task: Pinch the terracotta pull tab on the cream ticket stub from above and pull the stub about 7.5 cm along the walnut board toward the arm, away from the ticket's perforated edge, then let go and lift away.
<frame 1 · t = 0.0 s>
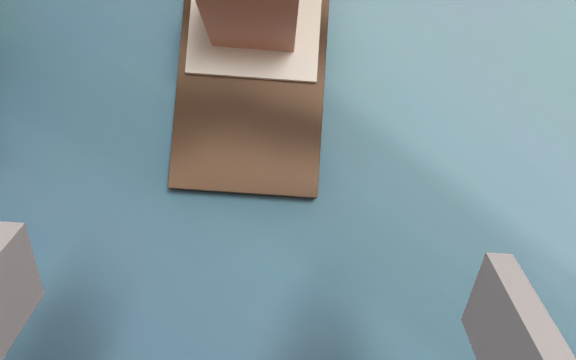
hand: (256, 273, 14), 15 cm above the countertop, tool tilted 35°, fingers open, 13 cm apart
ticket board: (256, 31, 30), on the countertop
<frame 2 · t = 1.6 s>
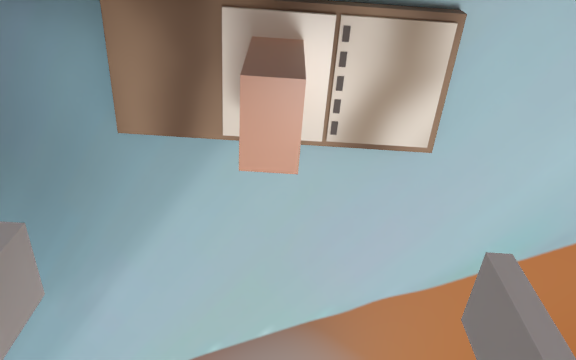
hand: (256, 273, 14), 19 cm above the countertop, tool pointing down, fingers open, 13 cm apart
stub: (273, 99, 26), point 5 cm above the countertop, slide at 0.0 cm
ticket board: (280, 71, 30), on the countertop
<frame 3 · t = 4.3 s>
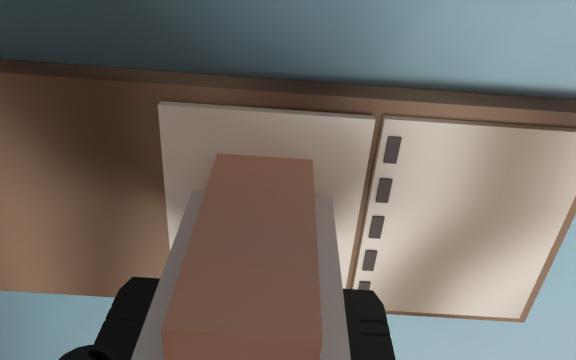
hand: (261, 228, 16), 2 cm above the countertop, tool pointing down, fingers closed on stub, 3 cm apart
stub: (254, 291, 13), point 5 cm above the countertop, slide at 0.0 cm, touching gripper
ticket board: (271, 195, 17), on the countertop
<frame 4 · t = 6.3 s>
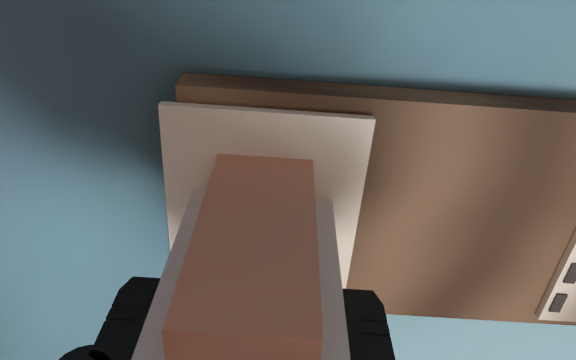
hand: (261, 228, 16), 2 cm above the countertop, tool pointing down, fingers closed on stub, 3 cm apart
stub: (254, 291, 13), point 5 cm above the countertop, slide at 7.4 cm, touching gripper
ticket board: (470, 208, 17), on the countertop
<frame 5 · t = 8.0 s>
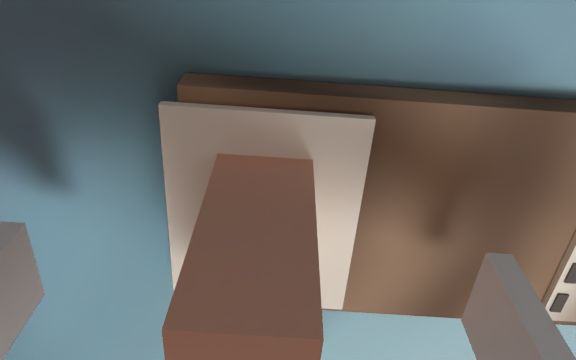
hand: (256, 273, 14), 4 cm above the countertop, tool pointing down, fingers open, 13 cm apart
stub: (254, 291, 13), point 5 cm above the countertop, slide at 7.5 cm
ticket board: (471, 208, 17), on the countertop
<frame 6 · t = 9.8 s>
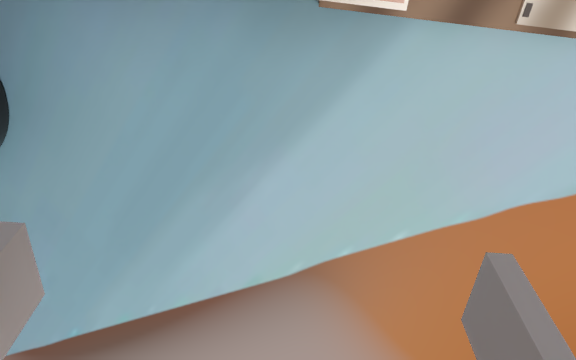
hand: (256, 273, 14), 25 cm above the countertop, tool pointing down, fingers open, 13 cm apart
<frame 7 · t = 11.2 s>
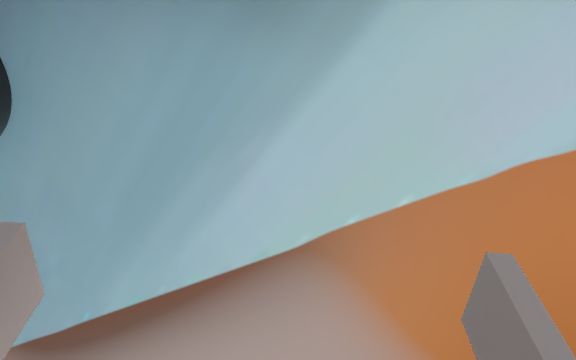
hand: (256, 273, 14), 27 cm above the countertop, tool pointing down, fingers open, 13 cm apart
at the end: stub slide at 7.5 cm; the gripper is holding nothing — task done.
